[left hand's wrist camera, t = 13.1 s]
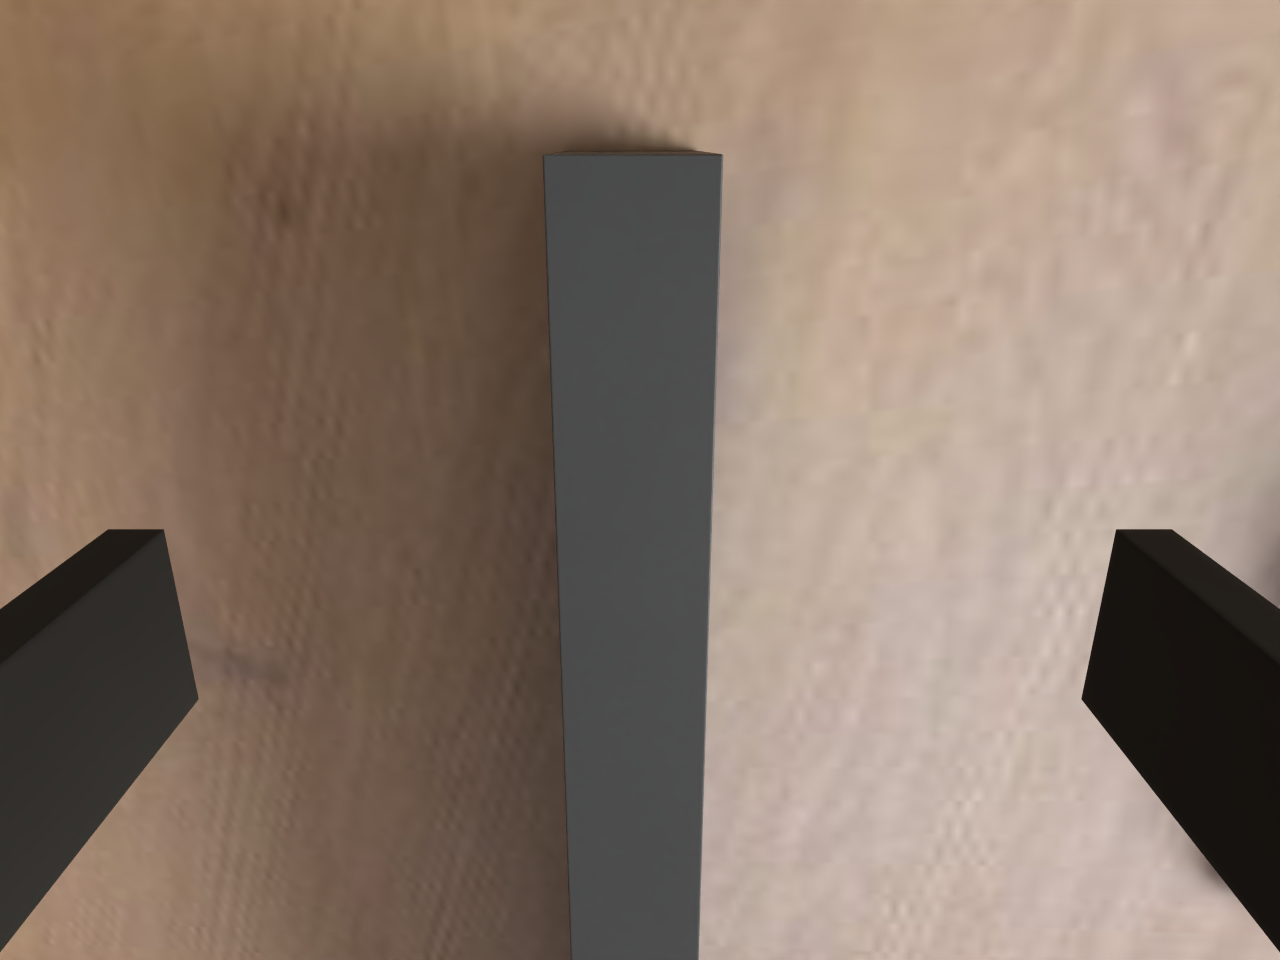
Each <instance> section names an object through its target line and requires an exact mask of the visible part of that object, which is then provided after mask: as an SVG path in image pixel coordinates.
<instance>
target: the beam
mask: <svg viewBox="0 0 1280 960" xmlns="http://www.w3.org/2000/svg"><path fill="white" fill-rule="evenodd" d="M722 175H723V155H722V154H716V153H709V152H701V151H564V152H557V153H550V154H544V155H543V177H544V205H545V234H546V262H547V290H548V319H549V347H550V375H551V404H552V432H553V460H554V488H555V517H556V545H557V573H558V602H559V630H560V658H561V687H562V715H563V743H564V772H565V800H566V828H567V857H568V885H569V913H570V941H571V960H699V927H700V894H701V861H702V829H703V796H704V763H705V731H706V698H707V665H708V633H709V600H710V567H711V534H712V502H713V469H714V436H715V404H716V371H717V338H718V305H719V273H720V240H721V207H722Z"/></svg>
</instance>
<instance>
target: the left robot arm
mask: <svg viewBox="0 0 1280 960" xmlns="http://www.w3.org/2000/svg"><path fill="white" fill-rule="evenodd" d="M197 700H198V694H197V689H196V684H195V680H194V675H193V670H192V665H191V660H190V655H189V650H188V645H187V641H186V636H185V631H184V626H183V621H182V616H181V611H180V606H179V602H178V597H177V592H176V587H175V582H174V577H173V572H172V567H171V562H170V558H169V553H168V548H167V543H166V538H165V533H164V529H108V530H107V531H105V532H104V533H103V534H101V535H100V536H99V537H97V538H96V539H95V540H93V541H92V542H91V543H89V544H88V545H86V546H85V547H84V548H82V549H81V550H80V551H78V552H77V553H76V554H74V555H73V556H72V557H70V558H69V559H68V560H66V561H65V562H63V563H62V564H61V565H59V566H58V567H57V568H55V569H54V570H53V571H51V572H50V573H49V574H47V575H46V576H45V577H43V578H42V579H40V580H39V581H38V582H36V583H35V584H34V585H32V586H31V587H30V588H28V589H27V590H26V591H24V592H23V593H22V594H20V595H19V596H17V597H16V598H15V599H13V600H12V601H11V602H9V603H8V604H7V605H5V606H4V607H3V608H1V609H0V952H1V950H2V949H3V948H4V947H5V945H6V944H7V943H8V942H9V940H10V939H11V938H12V936H13V935H14V934H15V933H16V931H17V930H18V929H19V927H20V926H21V925H22V924H23V922H24V921H25V920H26V919H27V917H28V916H29V915H30V913H31V912H32V911H33V910H34V908H35V907H36V906H37V905H38V903H39V902H40V901H41V899H42V898H43V897H44V896H45V894H46V893H47V892H48V891H49V889H50V888H51V887H52V885H53V884H54V883H55V882H56V880H57V879H58V878H59V876H60V875H61V874H62V873H63V871H64V870H65V869H66V868H67V866H68V865H69V864H70V862H71V861H72V860H73V859H74V857H75V856H76V855H77V854H78V852H79V851H80V850H81V848H82V847H83V846H84V845H85V843H86V842H87V841H88V839H89V838H90V837H91V836H92V834H93V833H94V832H95V831H96V829H97V828H98V827H99V825H100V824H101V823H102V822H103V820H104V819H105V818H106V817H107V815H108V814H109V813H110V811H111V810H112V809H113V808H114V806H115V805H116V804H117V803H118V801H119V800H120V799H121V797H122V796H123V795H124V794H125V792H126V791H127V790H128V788H129V787H130V786H131V785H132V783H133V782H134V781H135V780H136V778H137V777H138V776H139V774H140V773H141V772H142V771H143V769H144V768H145V767H146V766H147V764H148V763H149V762H150V760H151V759H152V758H153V757H154V755H155V754H156V753H157V751H158V750H159V749H160V748H161V746H162V745H163V744H164V743H165V741H166V740H167V739H168V737H169V736H170V735H171V734H172V732H173V731H174V730H175V729H176V727H177V726H178V725H179V723H180V722H181V721H182V720H183V718H184V717H185V716H186V715H187V713H188V712H189V711H190V709H191V708H192V707H193V706H194V704H195V703H196V702H197ZM1082 700H1083V702H1084V703H1085V704H1086V706H1087V707H1088V708H1089V709H1090V711H1091V712H1092V713H1093V715H1094V716H1095V717H1096V718H1097V720H1098V721H1099V722H1100V723H1101V725H1102V726H1103V727H1104V729H1105V730H1106V731H1107V732H1108V734H1109V735H1110V736H1111V737H1112V739H1113V740H1114V741H1115V743H1116V744H1117V745H1118V746H1119V748H1120V749H1121V750H1122V751H1123V753H1124V754H1125V755H1126V757H1127V758H1128V759H1129V760H1130V762H1131V763H1132V764H1133V766H1134V767H1135V768H1136V769H1137V771H1138V772H1139V773H1140V774H1141V776H1142V777H1143V778H1144V780H1145V781H1146V782H1147V783H1148V785H1149V786H1150V787H1151V788H1152V790H1153V791H1154V792H1155V794H1156V795H1157V796H1158V797H1159V799H1160V800H1161V801H1162V803H1163V804H1164V805H1165V806H1166V808H1167V809H1168V810H1169V811H1170V813H1171V814H1172V815H1173V817H1174V818H1175V819H1176V820H1177V822H1178V823H1179V824H1180V825H1181V827H1182V828H1183V829H1184V831H1185V832H1186V833H1187V834H1188V836H1189V837H1190V838H1191V839H1192V841H1193V842H1194V843H1195V845H1196V846H1197V847H1198V848H1199V850H1200V851H1201V852H1202V854H1203V855H1204V856H1205V857H1206V859H1207V860H1208V861H1209V862H1210V864H1211V865H1212V866H1213V868H1214V869H1215V870H1216V871H1217V873H1218V874H1219V875H1220V876H1221V878H1222V879H1223V880H1224V882H1225V883H1226V884H1227V885H1228V887H1229V888H1230V889H1231V891H1232V892H1233V893H1234V894H1235V896H1236V897H1237V898H1238V899H1239V901H1240V902H1241V903H1242V905H1243V906H1244V907H1245V908H1246V910H1247V911H1248V912H1249V913H1250V915H1251V916H1252V917H1253V919H1254V920H1255V921H1256V922H1257V924H1258V925H1259V926H1260V927H1261V929H1262V930H1263V931H1264V933H1265V934H1266V935H1267V936H1268V938H1269V939H1270V940H1271V942H1272V943H1273V944H1274V945H1275V947H1276V948H1277V949H1278V950H1279V952H1280V609H1279V608H1277V607H1276V606H1275V605H1273V604H1272V603H1271V602H1269V601H1268V600H1267V599H1265V598H1264V597H1263V596H1261V595H1260V594H1258V593H1257V592H1256V591H1254V590H1253V589H1252V588H1250V587H1249V586H1248V585H1246V584H1245V583H1244V582H1242V581H1241V580H1240V579H1238V578H1237V577H1235V576H1234V575H1233V574H1231V573H1230V572H1229V571H1227V570H1226V569H1225V568H1223V567H1222V566H1221V565H1219V564H1218V563H1217V562H1215V561H1214V560H1212V559H1211V558H1210V557H1208V556H1207V555H1206V554H1204V553H1203V552H1202V551H1200V550H1199V549H1198V548H1196V547H1195V546H1194V545H1192V544H1191V543H1189V542H1188V541H1187V540H1185V539H1184V538H1183V537H1181V536H1180V535H1179V534H1177V533H1176V532H1175V531H1173V530H1172V529H1116V533H1115V538H1114V543H1113V548H1112V553H1111V558H1110V562H1109V567H1108V572H1107V577H1106V582H1105V587H1104V592H1103V597H1102V602H1101V606H1100V611H1099V616H1098V621H1097V626H1096V631H1095V636H1094V641H1093V645H1092V650H1091V655H1090V660H1089V665H1088V670H1087V675H1086V680H1085V684H1084V689H1083V694H1082Z"/></svg>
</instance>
